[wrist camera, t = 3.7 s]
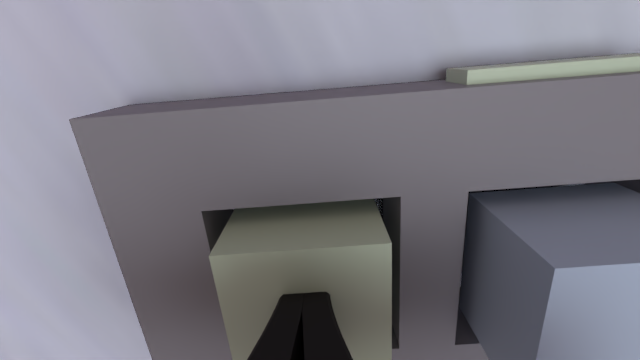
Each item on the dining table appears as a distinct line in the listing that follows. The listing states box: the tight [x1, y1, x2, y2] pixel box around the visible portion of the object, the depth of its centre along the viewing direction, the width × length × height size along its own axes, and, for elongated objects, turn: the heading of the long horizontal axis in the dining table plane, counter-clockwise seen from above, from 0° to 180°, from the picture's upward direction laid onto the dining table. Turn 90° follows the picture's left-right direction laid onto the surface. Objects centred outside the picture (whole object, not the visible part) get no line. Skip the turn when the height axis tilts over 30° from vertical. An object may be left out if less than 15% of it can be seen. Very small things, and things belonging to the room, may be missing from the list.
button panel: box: [69, 53, 640, 360], centre depth 12 cm, size 12×28×3 cm, turn 94°
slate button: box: [459, 183, 640, 360], centre depth 10 cm, size 5×5×4 cm
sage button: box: [209, 199, 392, 360], centre depth 11 cm, size 5×5×4 cm
